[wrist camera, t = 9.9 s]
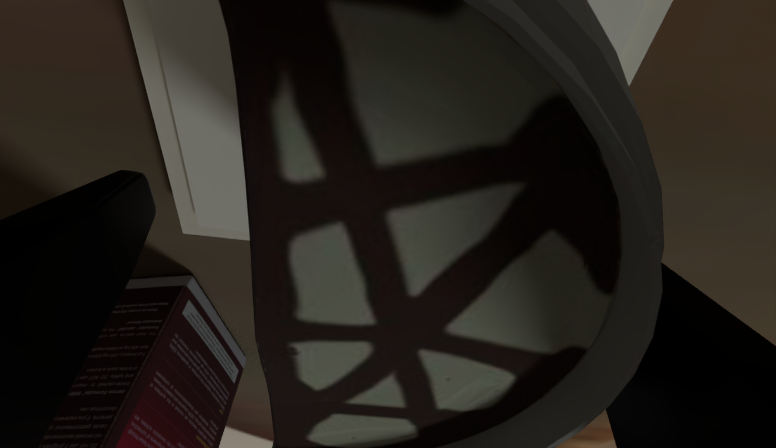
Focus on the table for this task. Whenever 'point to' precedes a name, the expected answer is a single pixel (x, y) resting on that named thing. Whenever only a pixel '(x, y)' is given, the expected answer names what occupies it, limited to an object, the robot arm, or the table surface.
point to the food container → (442, 219)
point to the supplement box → (153, 374)
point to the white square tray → (219, 100)
